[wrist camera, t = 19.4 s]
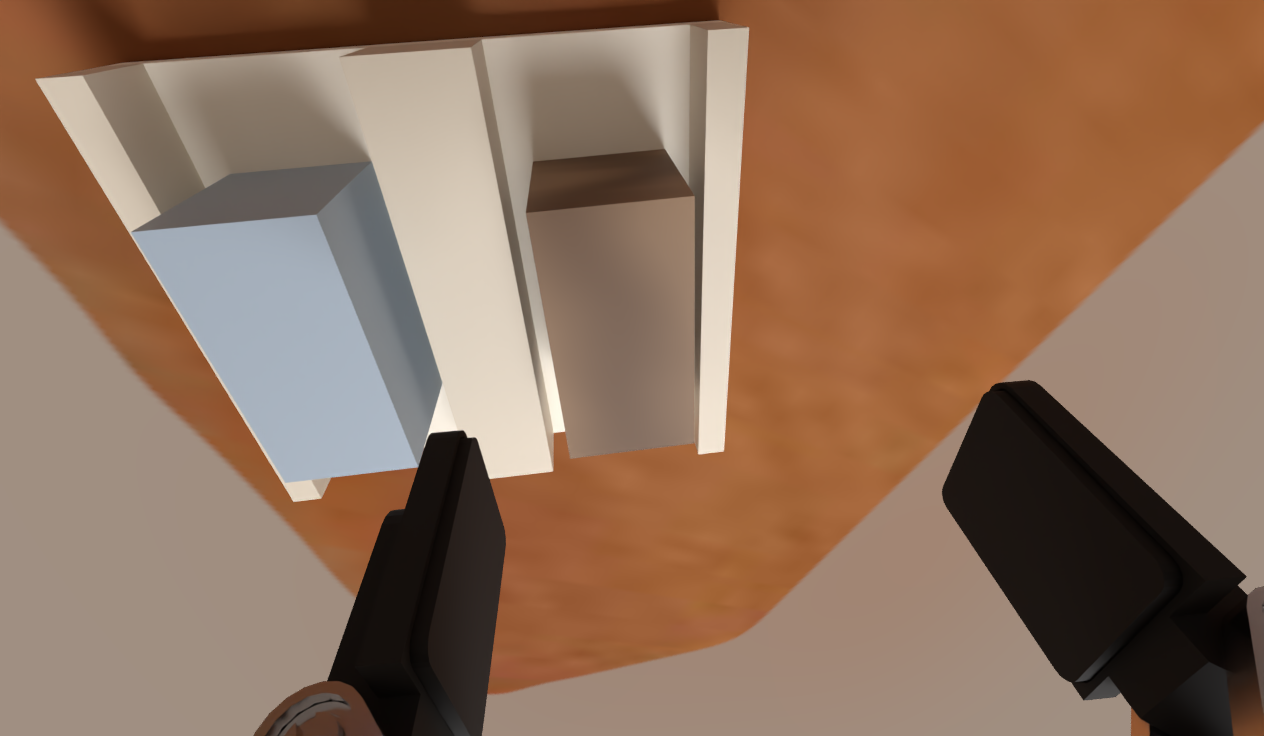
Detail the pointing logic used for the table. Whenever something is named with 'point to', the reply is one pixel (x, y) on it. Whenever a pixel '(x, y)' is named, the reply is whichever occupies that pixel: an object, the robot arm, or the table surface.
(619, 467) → the table surface
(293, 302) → the slate bar
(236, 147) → the slot board
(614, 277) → the walnut bar
